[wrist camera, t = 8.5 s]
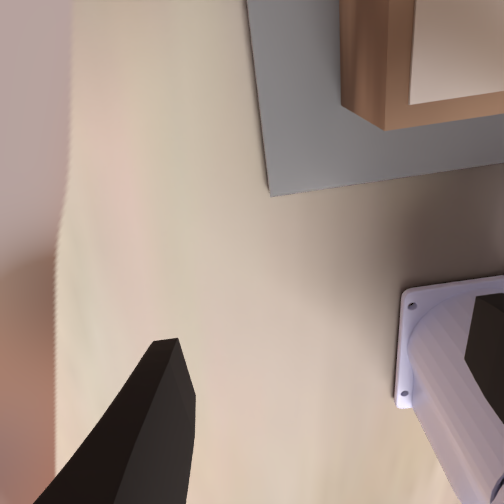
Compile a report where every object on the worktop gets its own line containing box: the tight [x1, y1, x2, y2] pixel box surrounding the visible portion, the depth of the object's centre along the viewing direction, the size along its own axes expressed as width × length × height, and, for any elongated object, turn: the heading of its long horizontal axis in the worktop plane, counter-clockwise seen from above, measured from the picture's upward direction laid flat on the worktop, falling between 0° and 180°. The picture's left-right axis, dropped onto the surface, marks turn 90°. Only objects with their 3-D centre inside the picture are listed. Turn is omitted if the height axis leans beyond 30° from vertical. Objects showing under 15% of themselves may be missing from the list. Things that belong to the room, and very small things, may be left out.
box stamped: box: [339, 0, 504, 131], centre depth 12 cm, size 4×4×5 cm
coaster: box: [246, 0, 504, 197], centre depth 15 cm, size 11×11×1 cm
